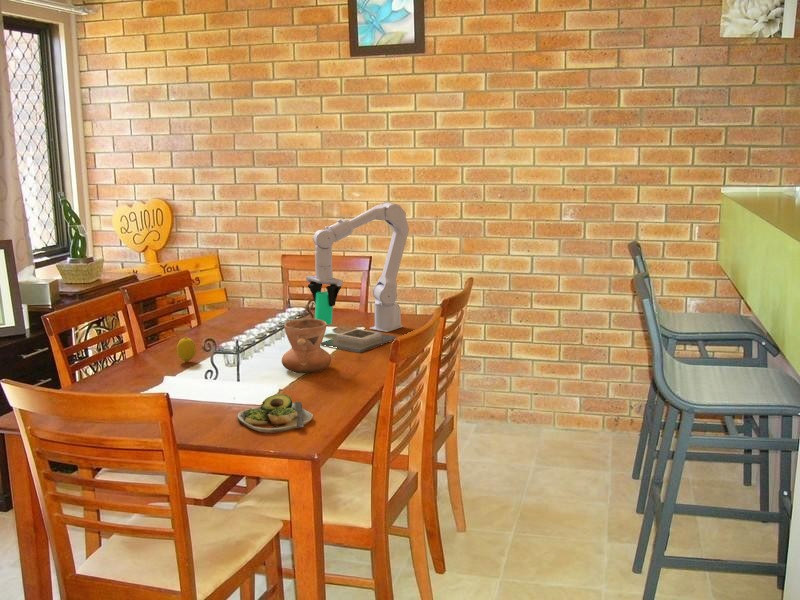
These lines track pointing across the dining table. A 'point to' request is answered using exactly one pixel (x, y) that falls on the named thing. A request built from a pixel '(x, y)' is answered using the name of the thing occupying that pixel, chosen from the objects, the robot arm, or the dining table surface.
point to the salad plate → (276, 415)
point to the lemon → (186, 349)
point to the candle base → (358, 340)
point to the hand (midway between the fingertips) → (324, 304)
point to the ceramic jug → (305, 346)
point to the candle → (323, 307)
